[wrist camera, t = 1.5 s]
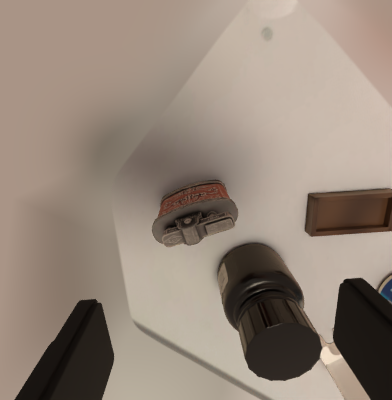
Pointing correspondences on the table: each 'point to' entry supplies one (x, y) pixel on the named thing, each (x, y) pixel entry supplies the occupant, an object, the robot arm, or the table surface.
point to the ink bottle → (268, 313)
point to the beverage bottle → (386, 289)
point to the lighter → (194, 213)
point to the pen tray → (349, 212)
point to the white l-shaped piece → (341, 373)
